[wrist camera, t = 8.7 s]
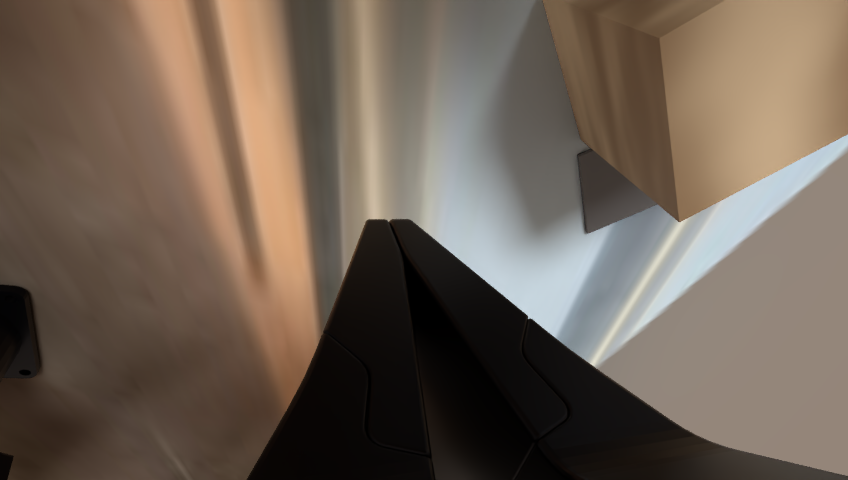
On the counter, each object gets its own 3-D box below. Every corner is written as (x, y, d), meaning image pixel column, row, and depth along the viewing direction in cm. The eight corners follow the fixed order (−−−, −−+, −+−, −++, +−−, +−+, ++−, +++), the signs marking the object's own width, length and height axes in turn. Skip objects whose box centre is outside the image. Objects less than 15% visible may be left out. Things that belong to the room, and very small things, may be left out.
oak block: (579, 138, 24) (679, 222, 18) (538, -8, 19) (659, 38, 13) (830, -4, 22) (1037, 34, 16) (861, -207, 17) (1181, -265, 11)
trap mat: (586, 232, 28) (587, 233, 28) (577, 154, 24) (579, 156, 24) (673, 194, 28) (675, 196, 28) (679, 111, 24) (681, 112, 24)
